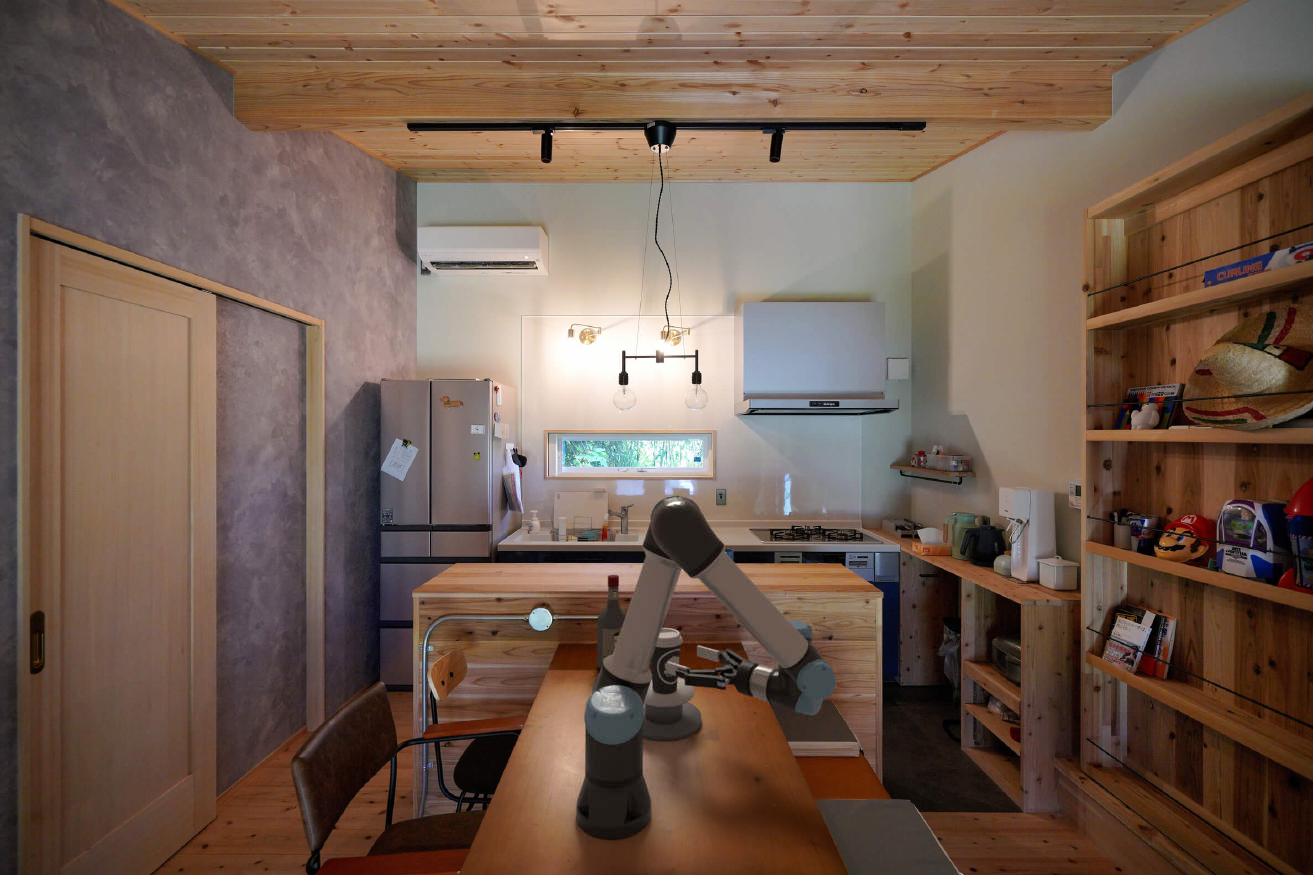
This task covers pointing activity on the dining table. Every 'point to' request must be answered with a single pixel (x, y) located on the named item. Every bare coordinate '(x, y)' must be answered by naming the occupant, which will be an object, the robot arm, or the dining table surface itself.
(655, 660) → the coffee cup
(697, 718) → the cup stand
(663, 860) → the dining table surface
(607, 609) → the liquor
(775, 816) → the dining table surface
